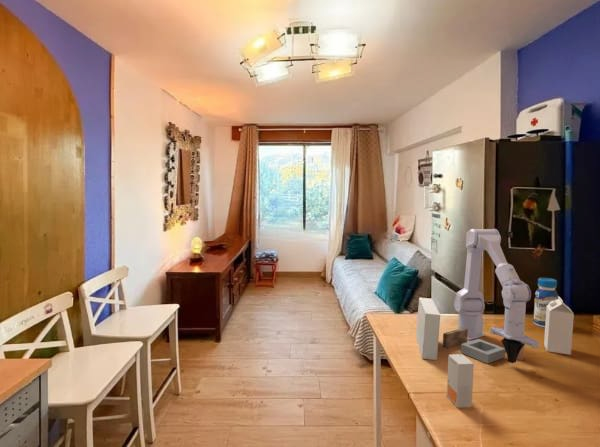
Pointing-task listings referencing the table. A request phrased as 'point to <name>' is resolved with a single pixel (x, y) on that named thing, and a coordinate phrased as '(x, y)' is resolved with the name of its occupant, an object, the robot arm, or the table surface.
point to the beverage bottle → (544, 299)
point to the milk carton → (558, 327)
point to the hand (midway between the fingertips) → (512, 361)
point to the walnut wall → (455, 337)
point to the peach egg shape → (521, 354)
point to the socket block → (483, 350)
